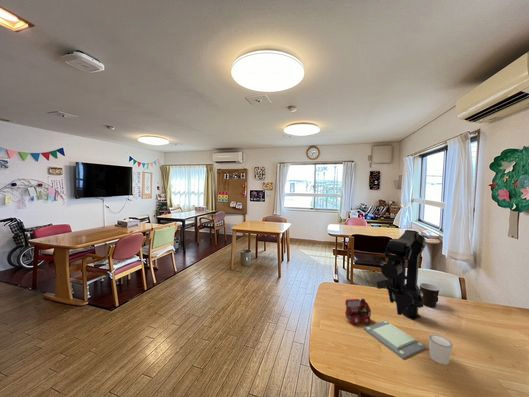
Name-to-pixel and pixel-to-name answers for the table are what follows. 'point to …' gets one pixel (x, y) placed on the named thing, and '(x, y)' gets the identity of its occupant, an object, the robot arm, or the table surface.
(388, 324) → the baseplate
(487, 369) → the table surface
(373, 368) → the table surface
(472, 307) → the table surface
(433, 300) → the coffee mug
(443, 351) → the shot glass
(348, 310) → the toy fire truck
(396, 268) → the robot arm
